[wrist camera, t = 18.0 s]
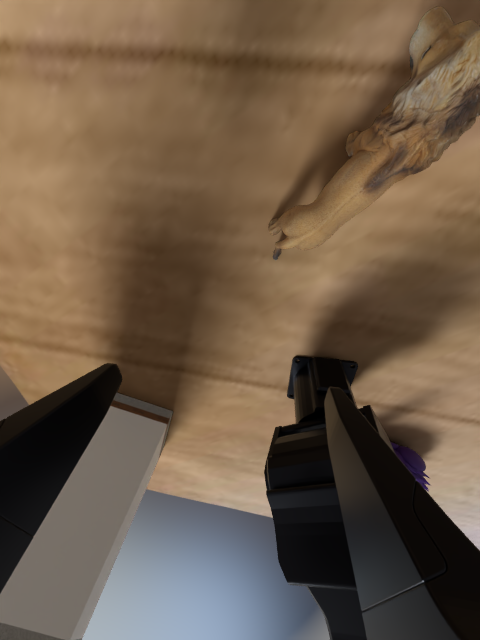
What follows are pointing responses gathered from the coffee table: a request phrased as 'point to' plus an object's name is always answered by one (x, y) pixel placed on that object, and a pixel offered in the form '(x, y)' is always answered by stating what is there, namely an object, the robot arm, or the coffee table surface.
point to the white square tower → (85, 527)
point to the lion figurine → (399, 131)
